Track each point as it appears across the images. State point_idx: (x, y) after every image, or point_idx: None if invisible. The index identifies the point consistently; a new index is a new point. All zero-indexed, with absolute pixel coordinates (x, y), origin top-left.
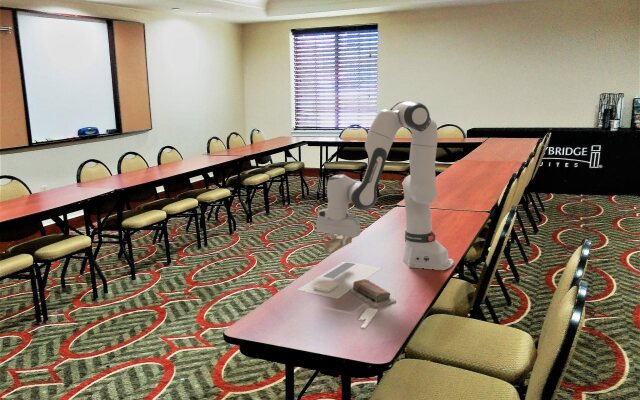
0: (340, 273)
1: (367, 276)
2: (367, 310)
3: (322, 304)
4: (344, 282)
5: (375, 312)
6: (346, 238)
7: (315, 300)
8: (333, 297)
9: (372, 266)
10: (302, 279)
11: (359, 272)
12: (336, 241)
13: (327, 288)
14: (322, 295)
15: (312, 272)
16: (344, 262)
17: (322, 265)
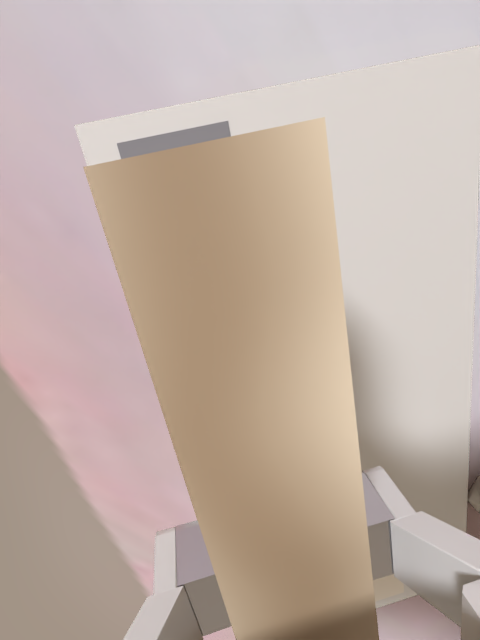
0: None
1: (463, 293)
2: None
3: (429, 631)
4: (387, 454)
5: None
6: (475, 549)
7: (383, 633)
8: None
9: (396, 72)
10: (141, 570)
11: (376, 270)
12: None
13: (390, 588)
14: (386, 604)
15: (85, 474)
16: (108, 158)
17: (3, 334)
